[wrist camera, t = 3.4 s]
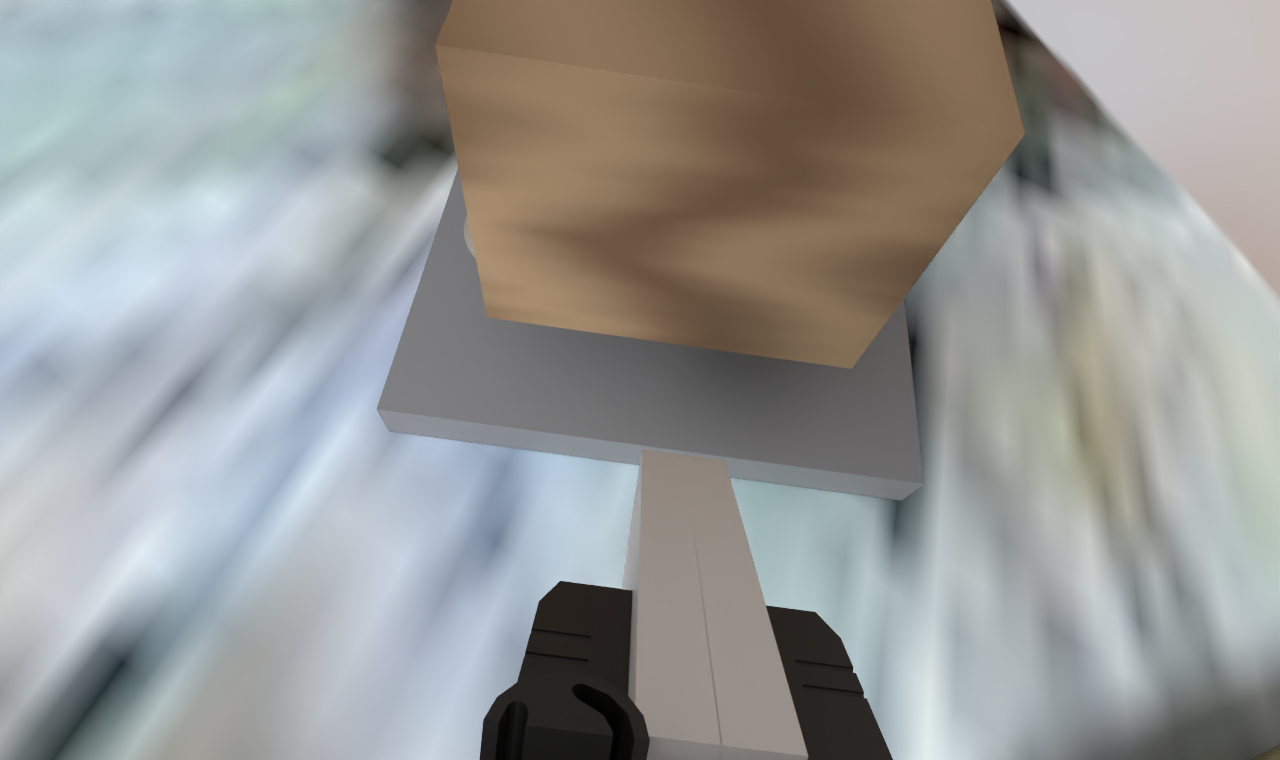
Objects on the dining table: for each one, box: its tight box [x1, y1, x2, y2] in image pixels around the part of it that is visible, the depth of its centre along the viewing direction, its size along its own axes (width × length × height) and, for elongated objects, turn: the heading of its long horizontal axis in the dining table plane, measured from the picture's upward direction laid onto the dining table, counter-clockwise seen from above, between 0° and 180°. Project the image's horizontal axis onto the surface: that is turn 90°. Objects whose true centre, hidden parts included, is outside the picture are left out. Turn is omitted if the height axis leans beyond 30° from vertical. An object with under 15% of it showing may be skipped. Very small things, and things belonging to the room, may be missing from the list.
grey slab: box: [377, 168, 924, 501], centre depth 23 cm, size 16×22×6 cm
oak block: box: [435, 0, 1025, 369], centre depth 19 cm, size 13×12×10 cm
